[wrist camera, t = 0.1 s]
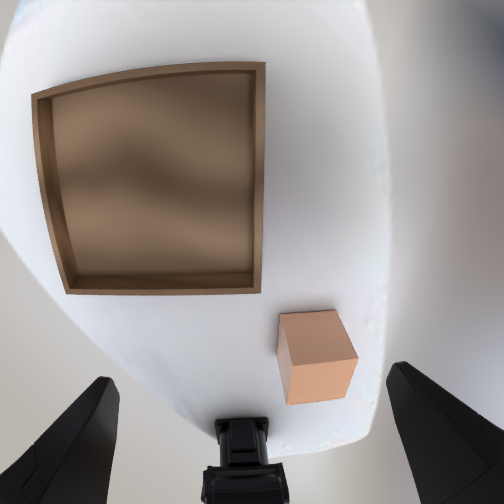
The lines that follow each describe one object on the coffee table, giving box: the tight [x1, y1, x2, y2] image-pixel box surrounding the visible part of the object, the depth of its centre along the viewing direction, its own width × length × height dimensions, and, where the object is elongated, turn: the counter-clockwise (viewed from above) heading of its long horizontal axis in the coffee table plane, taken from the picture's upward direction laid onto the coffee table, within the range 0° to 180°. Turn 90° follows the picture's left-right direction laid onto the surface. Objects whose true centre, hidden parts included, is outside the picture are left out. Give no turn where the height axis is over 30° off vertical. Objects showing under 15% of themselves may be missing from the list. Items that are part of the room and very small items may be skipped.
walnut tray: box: [31, 62, 266, 295], centre depth 18 cm, size 15×15×2 cm
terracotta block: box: [277, 310, 358, 405], centre depth 24 cm, size 5×5×6 cm
